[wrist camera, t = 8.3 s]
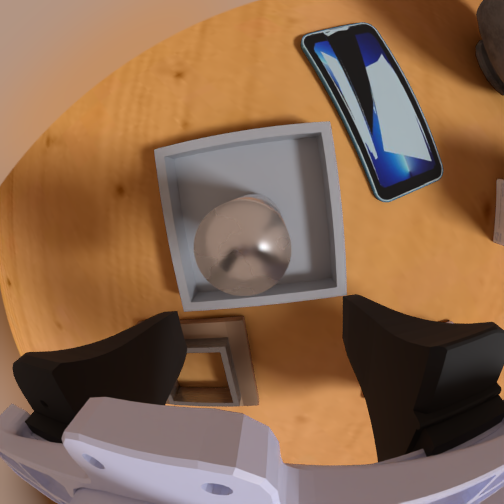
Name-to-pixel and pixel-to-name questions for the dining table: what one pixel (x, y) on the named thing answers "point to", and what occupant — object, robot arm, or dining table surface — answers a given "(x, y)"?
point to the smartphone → (375, 108)
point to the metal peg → (243, 246)
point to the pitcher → (491, 42)
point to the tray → (264, 183)
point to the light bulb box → (499, 213)
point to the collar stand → (234, 360)
